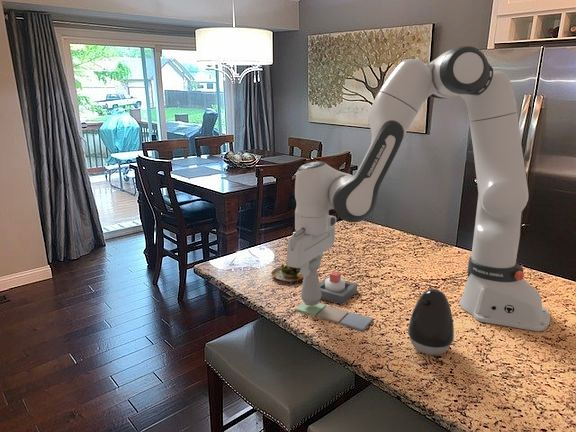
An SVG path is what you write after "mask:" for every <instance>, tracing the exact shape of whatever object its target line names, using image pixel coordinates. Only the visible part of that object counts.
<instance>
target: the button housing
mask: <svg viewBox="0 0 576 432" xmlns="http://www.w3.org/2000/svg"><path fill="white" fill-rule="evenodd" d="M329 277H330V276H327V277H326V278H324V279H323V280H322V281H319V284H320V289H321V294H322V296H321V298H320V300H321V299H322V300H325V301H329V302H332V303H335V304H339V305H344V304H345V303H346V302H347V301H348V300H349V299H350V298H352V296H353V295H354V294H356V293H357V292H358V283H355V282H351V281H348V280H345V290H344V291H342V292H341V293H337V292H333V291H330V290H326V289H325V279H327V278H329Z"/></svg>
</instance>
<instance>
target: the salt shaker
mask: <svg viewBox="0 0 576 432" xmlns="http://www.w3.org/2000/svg"><path fill="white" fill-rule="evenodd" d="M318 267H319V261H318V259H316V258H314V259H312V260H311V261H309V265H308V268H309V269H311V272H310V273H311V274H310V275H309V276H307V277H306V276H304V279H303V282H302V283H301V285H302V286H301V291H300V297H301V300H302V303H303V302H304V303H305V304H306V305H309V306H314V305H317V304H318V303H320V300H321V296H322V294H321V289H320V284H319V283H320V280H319V274H318V269H317V268H318Z"/></svg>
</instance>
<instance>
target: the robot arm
mask: <svg viewBox="0 0 576 432" xmlns="http://www.w3.org/2000/svg"><path fill="white" fill-rule="evenodd" d="M429 97H432V98H435V99H440V100H441V99H451V98H452V99H453V98H457V97H460V98H462V100H463V102H464V103H465V105H466V108H467V111H468V119H469V120H468V121H469V128H470V136H471V142H472V150H473V158H474V159H473V160H474V167H475V169H474V170H475V175H476V176H475V177H476V184H477V185H476V186H477V192H478V194H477V204H476V213H475V222H474V230H473V240H472V247H471V248H472V249H471V255H470V257H469V259H468V262H467V279H466V284H465V288H464V291H463V293H462V296H461V297H460V300H459V302H458V303H459V305H460V307H461V308H462V309H463V310H464V311H466V312H467V313H469V314H470V315H472V317H473V318H474V319H475V320H477V321H478V322H481V323H485V324H486V323H488V324H492V325H498V326H504V327H510V328H515V329H523V330H528V331H534V332H543V331H546V329H548V327H549V326H550V323H551V316H550V315H551V314H550V311H548V309H547V308H546V307H544V306H543V302H542V301H543V300H542V297H541V294H540V293H539V291H538V290H537V289H536V288H535V287H533V286H532V284H530V283H529V282H527V280H525V278H524V276H525V274H524V266H523V264H521V265H520V264H519V263H517V257H518V256H517V255H518V250H519V244H520V238H521V223H522V213H523V211H524V209H525V208H526V206H527V204H528V202H529V188H528V181H527V174H526V173H527V172H526V168H525V167H526V166H525V159H524V153H523V147H522V140H521V139H522V138H521V132H520V131H521V130H520V123H519V115H518V107H517V101H516V96H515V92H514V89H513V86H512V83H511V80H510V77H509V75H507V73H505V72H504V71H500V70H494V68H493V66H492V65H491V64H490V63H489V61H488V58H487V57H486V55H485V54H484V53H483V52H482V50H480V49H478V48H476V47H473V46H471V45H470V46H469V45H461V46H456V47H455V48H452V49H450V50H447V51H445V52H443V53H442V54H440V55H439V56H438V57H436V58H434V59H433V60H431V61H430V62H428V63H425V62H424V61H422V60H419V59H416V58H406V59H404V60H402V61H400V63H399V64H397V66H396V67H395V68H394V70H393V71H392V72H391V73H390V75H389V76H388V78H387V79H386V80H385V82H384V83H383V84H382V86H381V88H380V90H379V91H378V92H377V94H376V96H375V98H374V99H373V102H372V104H371V106H370V109H369V112H368V115H367V120H368V121H367V122H368V125H369V127H370V131H371V141H370V145H369V147H368V149H367V152H366V153H365V156H364V157H363V160H362V161H361V163H360V164H359V167H358V169H357V171H356V173H355V174H354V175H352V174H350V173H347V172H343V171H340V170H337V169H335V168H334V167H331V166H330V165H329V164H327V163H326V162H325V161H311V162H307V163H304V164H302V165H301V166H300V167H299V168H298V169H297V171H296V173H295V182H294V198H295V203H296V206H295V210H294V230H295V231H294V232H292V235H291V236H290V238H289V239H288V241H287V245H286V246H287V247H286V262H285V264H286V263H287V264H286V266H290V267H293V268H301V269H302V275H303V276H306V277H307V276H309V275H310V274H311V273H310V272H311V269H309V268H308V265H309V261H311V260H312V259H314V258H316V259H318V261H319V267H318V268H317V270H319V269H320V268H321V262H322V260H323V257H324V256H323V255H324V253H325V252H326V251H328V250H330V249H331V248H333V246H334V245H335V244H334V243H335V238H336V224H337V217H336V216H334V215H330V213H329V211H330V210H334V211H335V213H336V214H337V216H338V217H339V218H340V219H341V220H342V221H345V222H347V223H352V224H353V223H355V224H356V223H360V222H362V221H364V220H366V219H368V218H369V217H370V216H371V215H372V214H373V212H374V211H375V208H376V206H377V205H376V204H377V200H378V193H379V189H380V187H381V185H382V183H383V181H384V179H385V177H386V175H387V173H388V171H389V169H390V168H391V165H392V163H393V161H394V160H395V159H394V158H395V157H396V155H397V153H398V151H399V149H400V147H401V144H402V141H403V139H404V137H405V136H406V134H407V131H408V130H409V129H410V126H411V125H412V123H413V121H414V120H415V118H416V116H417V114H418V113H419V111H420V110H421V107H422V105H423V104H424V103H425V101H426V100H427V99H428V98H429Z"/></svg>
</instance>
